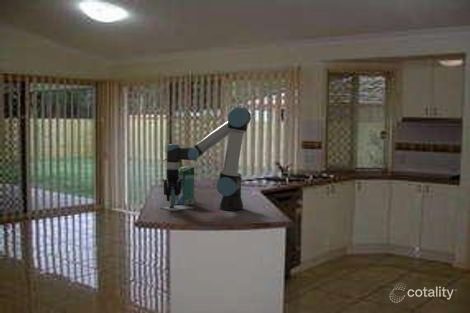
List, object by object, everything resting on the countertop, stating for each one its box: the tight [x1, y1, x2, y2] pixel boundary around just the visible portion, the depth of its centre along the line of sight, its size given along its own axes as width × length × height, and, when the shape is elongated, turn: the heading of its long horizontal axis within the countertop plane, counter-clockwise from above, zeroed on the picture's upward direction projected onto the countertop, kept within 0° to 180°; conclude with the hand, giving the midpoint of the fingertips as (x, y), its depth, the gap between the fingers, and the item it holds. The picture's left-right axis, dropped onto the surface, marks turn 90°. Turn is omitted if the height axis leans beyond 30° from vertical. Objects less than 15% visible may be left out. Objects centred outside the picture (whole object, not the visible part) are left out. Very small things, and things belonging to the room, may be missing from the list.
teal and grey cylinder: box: [168, 187, 175, 208], centre depth 320 cm, size 4×4×13 cm
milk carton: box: [177, 165, 195, 206], centre depth 339 cm, size 9×9×25 cm
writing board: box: [159, 204, 195, 212], centre depth 321 cm, size 18×13×1 cm
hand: (172, 205), depth 320 cm, fingers closed on teal and grey cylinder, 3 cm apart
